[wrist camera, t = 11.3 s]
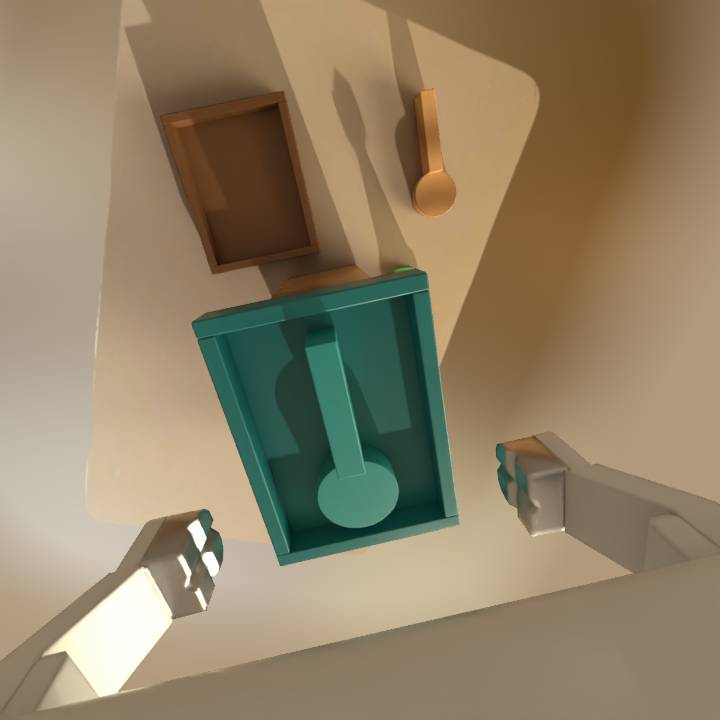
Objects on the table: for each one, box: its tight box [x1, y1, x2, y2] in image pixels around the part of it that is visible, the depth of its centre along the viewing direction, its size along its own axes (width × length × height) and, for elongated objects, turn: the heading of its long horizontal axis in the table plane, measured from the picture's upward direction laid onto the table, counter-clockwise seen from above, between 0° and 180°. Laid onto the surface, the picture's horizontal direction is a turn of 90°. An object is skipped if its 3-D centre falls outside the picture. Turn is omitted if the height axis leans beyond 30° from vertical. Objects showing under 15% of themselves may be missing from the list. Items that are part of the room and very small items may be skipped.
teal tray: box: [192, 268, 460, 566], centre depth 19 cm, size 15×11×2 cm
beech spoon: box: [412, 89, 456, 217], centre depth 37 cm, size 11×4×3 cm, turn 11°
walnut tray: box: [160, 91, 320, 275], centre depth 36 cm, size 15×12×2 cm
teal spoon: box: [305, 327, 399, 528], centre depth 18 cm, size 11×4×3 cm, turn 11°
